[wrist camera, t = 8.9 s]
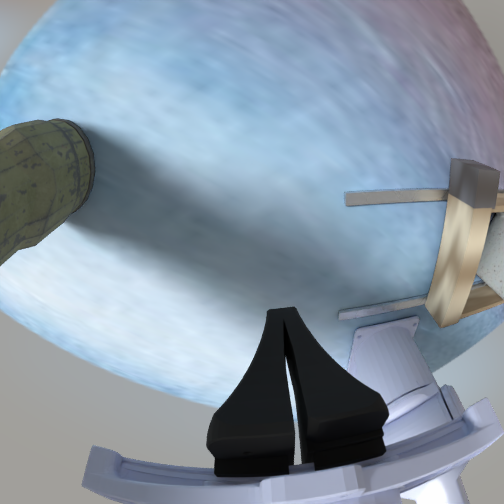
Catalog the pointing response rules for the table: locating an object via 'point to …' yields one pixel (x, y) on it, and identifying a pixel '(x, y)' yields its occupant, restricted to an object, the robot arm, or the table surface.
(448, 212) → the tan wooden bracket
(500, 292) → the ceramic mug
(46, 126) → the thermos
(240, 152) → the table surface
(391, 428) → the robot arm
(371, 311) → the track
